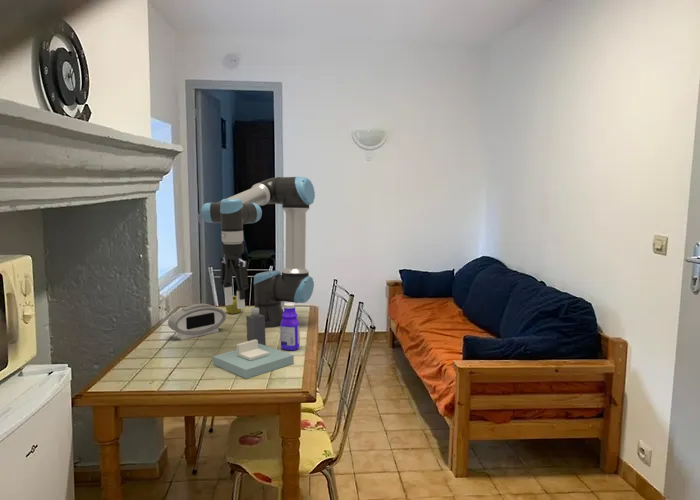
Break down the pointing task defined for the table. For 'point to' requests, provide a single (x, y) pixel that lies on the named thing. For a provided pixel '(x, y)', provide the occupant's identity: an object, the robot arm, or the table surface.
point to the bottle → (289, 328)
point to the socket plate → (253, 362)
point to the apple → (233, 306)
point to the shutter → (250, 350)
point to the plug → (256, 327)
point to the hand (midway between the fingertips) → (235, 306)
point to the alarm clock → (196, 320)
